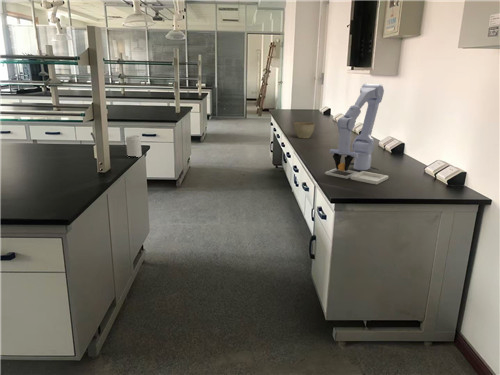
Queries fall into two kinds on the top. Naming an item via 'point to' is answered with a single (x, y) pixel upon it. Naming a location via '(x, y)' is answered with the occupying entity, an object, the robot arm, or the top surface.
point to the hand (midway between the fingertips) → (342, 169)
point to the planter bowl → (304, 129)
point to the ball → (341, 166)
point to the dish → (369, 177)
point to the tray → (340, 175)
